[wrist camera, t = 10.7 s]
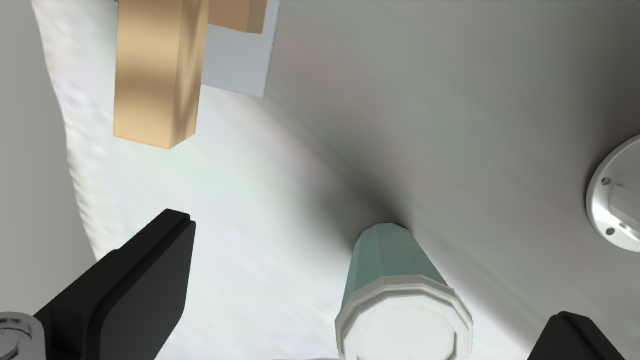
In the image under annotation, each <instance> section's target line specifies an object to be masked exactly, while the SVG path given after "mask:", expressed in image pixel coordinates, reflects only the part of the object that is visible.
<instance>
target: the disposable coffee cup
mask: <svg viewBox="0 0 640 360" xmlns="http://www.w3.org/2000/svg"><path fill="white" fill-rule="evenodd" d="M335 329H336V341H337V349H338V351H339V357H340V358H341V359H342V360H467V359H468V356H469V355H470V354H471V352H472V338H473V321H472V315H471V313H470V312H469V310H468V309H467V307H466V306H465V304H464V303H463V301H462V300H461V298H460V297H459V295H458V294H457V293H456V291H455V290H454V289H453V288H451V287H449V286H448V285H447V283H446V282H445V280H444V279H443V278H442V276H441V275H440V273H439V272H438V271H437V269H436V268H435V266H434V265H433V264H432V262H431V261H430V259H429V258H428V257H427V255H426V254H425V252H424V251H423V250H422V248H421V247H420V246H419V244H418V243H417V241H416V240H415V239H414V237H413V236H412V234H411V233H410V232H409V230H407V229H405V228H402V227H400V226H398V225H396V224H394V223H379V224H375V225H373V226H372V227H370V228H368V229H366V230H365V231H363V232H362V233H361V235H360V237H359V239H358V240H357V242H356V244H355V245H354V249H353V254H352V258H351V263H350V268H349V272H348V277H347V282H346V286H345V291H344V296H343V300H342V305H341V309H340V312H339V314H338V315H337V317H336V319H335Z"/></svg>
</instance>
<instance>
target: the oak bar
mask: <svg viewBox="0 0 640 360" xmlns="http://www.w3.org/2000/svg"><path fill="white" fill-rule="evenodd" d="M209 9H210V0H119V2H118V26H117V50H116V73H115V97H114V121H113V136H114V137H118V138H122V139H127V140H131V141H135V142H139V143H144V144H148V145H152V146H156V147H161V148H165V149H170V148H172V147H174V146H175V145H177V144H179V143H180V142H182V141H184V140H185V139H187V138H189V137H190V136H192V135H193V134H195V129H196V120H197V112H198V103H199V94H200V86H201V77H202V69H203V60H204V52H205V43H206V35H207V26H208V17H209Z"/></svg>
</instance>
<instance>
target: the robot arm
mask: <svg viewBox="0 0 640 360" xmlns="http://www.w3.org/2000/svg"><path fill="white" fill-rule="evenodd" d="M586 209H587V214H588V217H589V220H590V222H591V224H592V225H593V227H594V228H595V230H596V231H597V232H598V233H599V234H600V235H601V236H602V237H603V238H605V239H606V240H608V241H609V242H610V243H612V244H613V245H616V246H618V247H620V248H622V249H626V250H630V251H634V252H640V134H639V135H637V136H635V137H632V138H630V139H628V140H627V141H625V142H624V143H622V144H621V145H619V146H618V147H616V148H615V149H614V150H613V151H612V152H611V153H610V154H609V155H608V156H606V157H605V159H604V160H603V161H602V162H601V164H600V165H599V166H598V167H597V169H596V171H595V173H594V174H593V176H592V178H591V180H590V183H589V186H588V189H587V196H586ZM195 229H196V222H195V221H192V220H190V215H189V214H187V213H183V212H179V211H176V210H172V209H165V210H164V211H163V212H161V213H160V214H159V215H158V216H157V217H156V218H154V219H153V220H152V221H151V222H150V223H148V224H147V225H146V226H145V227H144V228H143V229H141V230H140V231H139V232H138V233H137V234H136V235H134V236H133V237H132V238H131V239H130V240H129V241H127V242H126V243H125V244H124V245H123V246H122V247H120V248H119V249H114V250H112V251H110V252H109V253H107V254H106V255H105V256H104V257H103V258H101V259H100V260H99V261H98V262H97V263H96V264H94V265H93V266H92V267H91V268H90V269H88V270H87V271H86V272H85V273H84V274H82V275H81V276H80V277H79V278H78V279H76V280H75V281H74V282H73V283H72V284H70V285H69V286H68V287H67V288H66V289H64V290H63V291H62V292H61V293H60V294H58V295H57V296H56V297H55V298H54V299H52V300H51V301H50V302H49V303H48V304H46V305H45V306H44V307H43V308H42V309H40V310H39V311H38V312H37V313H36V314H34V315H33V316H30V315H28V314H24V313H19V312H0V360H154V359H155V357H156V356H157V354H158V352H159V351H160V349H161V348H162V346H163V345H164V343H165V342H166V340H167V339H168V337H169V335H170V334H171V332H172V331H173V329H174V328H175V326H176V325H177V323H178V322H179V320H180V318H181V316H182V313H183V310H184V306H185V300H186V293H187V285H188V278H189V271H190V264H191V257H192V250H193V243H194V236H195ZM527 360H625V359H624V358H623V357H622V355H621V354H620V353H619V352H618V351H617V350H616V348H615V347H614V346H613V345H612V344H611V342H610V341H609V340H608V339H607V338H606V337H605V335H604V334H603V333H602V332H601V331H600V329H599V328H598V327H597V326H596V325H595V324H594V322H593V321H592V320H591V319H590V318H588V317H586V316H582V315H578V314H574V313H570V312H566V311H561V312H559V313H558V314H557V315H553V316H551V317H550V319H549V320H548V322H547V324H546V326H545V328H544V329H543V331H542V333H541V335H540V337H539V339H538V341H537V342H536V344H535V346H534V348H533V350H532V352H531V353H530V355H529V357H528V359H527Z"/></svg>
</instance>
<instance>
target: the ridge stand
mask: <svg viewBox="0 0 640 360" xmlns="http://www.w3.org/2000/svg"><path fill="white" fill-rule="evenodd" d="M114 1H117V2H119V0H114ZM280 4H281V0H210V9H209V17H208V26H207V35H206V43H205V52H204V60H203V69H202V77H201V84H204V85H208V86H212V87H216V88H221V89H225V90H229V91H233V92H237V93H241V94H246V95H250V96H254V97H258V98H264V96H265V90H266V84H267V79H268V73H269V67H270V61H271V56H272V50H273V44H274V39H275V33H276V27H277V22H278V16H279V10H280Z"/></svg>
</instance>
